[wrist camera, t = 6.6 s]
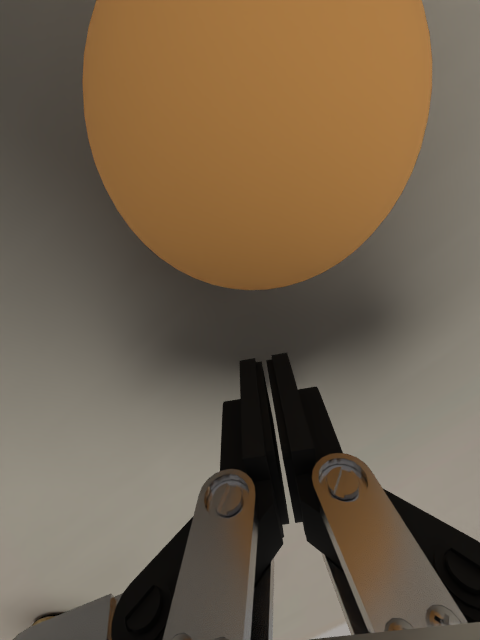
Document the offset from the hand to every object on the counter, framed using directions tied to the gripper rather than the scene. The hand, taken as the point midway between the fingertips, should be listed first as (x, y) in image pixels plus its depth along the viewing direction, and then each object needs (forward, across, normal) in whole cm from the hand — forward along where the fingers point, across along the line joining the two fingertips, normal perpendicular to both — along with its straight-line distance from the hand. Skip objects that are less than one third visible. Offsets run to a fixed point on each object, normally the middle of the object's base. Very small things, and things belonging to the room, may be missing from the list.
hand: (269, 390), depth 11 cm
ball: (-2, -1, -8) cm, 8 cm away
